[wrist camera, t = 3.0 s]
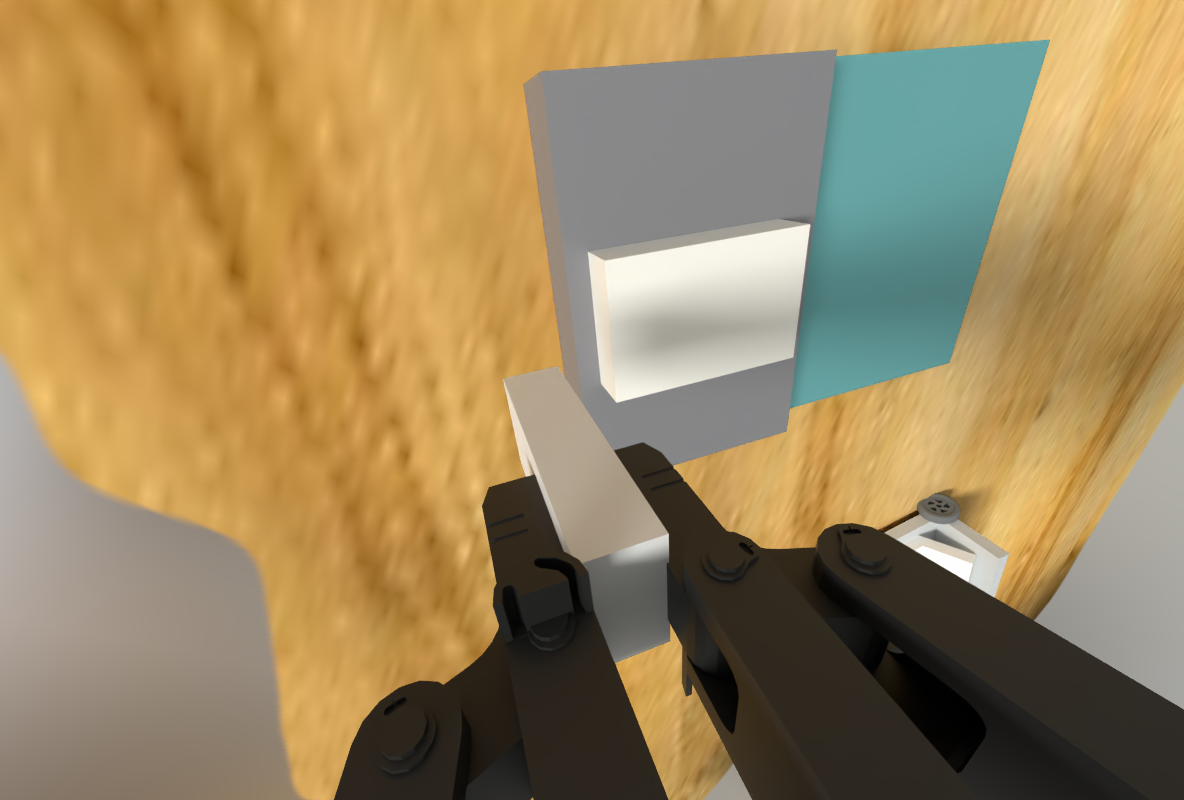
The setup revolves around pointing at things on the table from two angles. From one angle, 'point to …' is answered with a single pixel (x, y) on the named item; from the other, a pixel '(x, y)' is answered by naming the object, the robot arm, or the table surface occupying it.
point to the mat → (906, 207)
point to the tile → (696, 305)
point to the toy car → (952, 543)
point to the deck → (675, 210)
